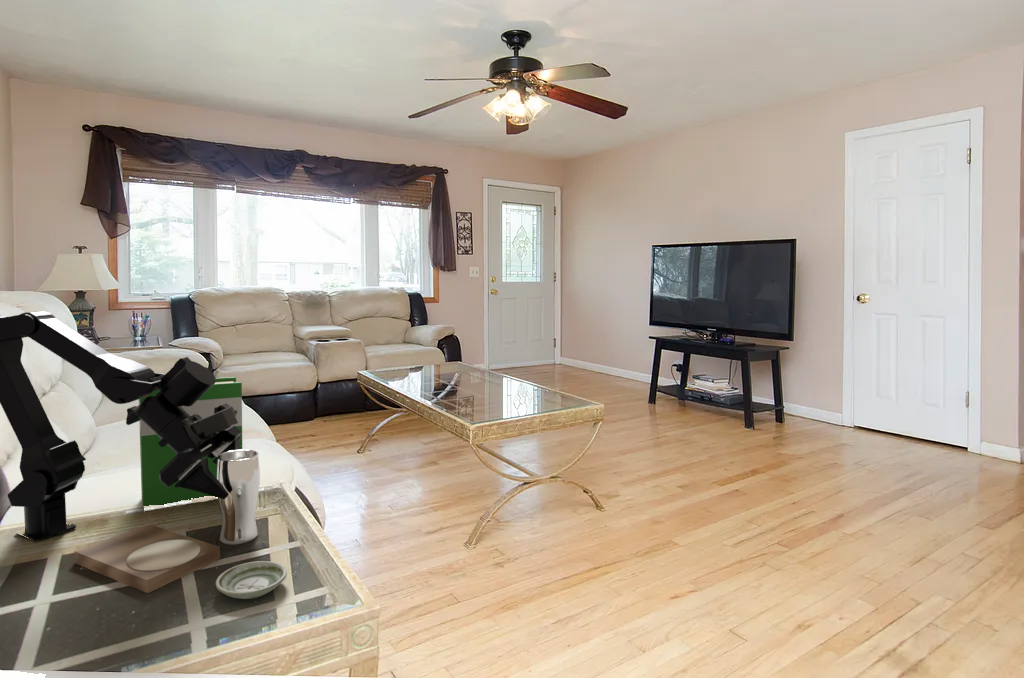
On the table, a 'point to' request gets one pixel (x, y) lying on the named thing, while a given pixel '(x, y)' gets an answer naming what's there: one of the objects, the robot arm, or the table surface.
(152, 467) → the hardback book
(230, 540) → the metal tumbler
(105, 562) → the walnut base
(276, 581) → the saucer
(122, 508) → the table surface
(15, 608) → the table surface
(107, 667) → the table surface
